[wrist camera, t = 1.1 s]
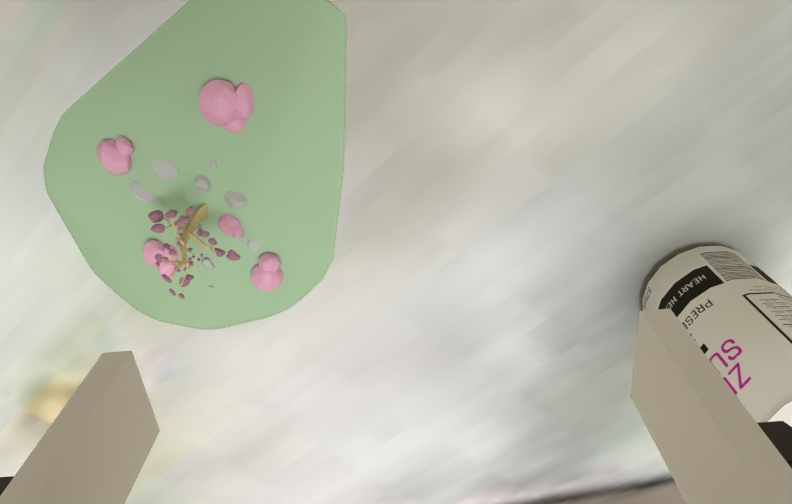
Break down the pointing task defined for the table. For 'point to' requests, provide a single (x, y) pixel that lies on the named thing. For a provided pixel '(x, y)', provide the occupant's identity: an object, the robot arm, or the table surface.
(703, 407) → the robot arm
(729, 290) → the supplement can
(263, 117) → the miniature tree diorama
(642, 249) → the table surface
